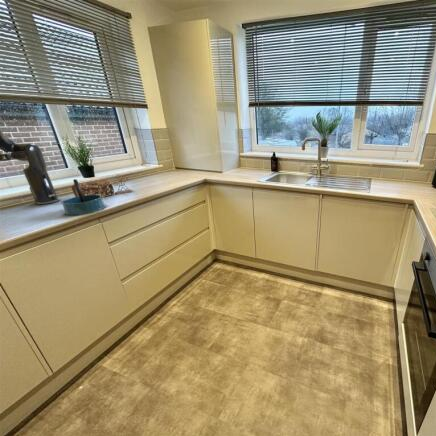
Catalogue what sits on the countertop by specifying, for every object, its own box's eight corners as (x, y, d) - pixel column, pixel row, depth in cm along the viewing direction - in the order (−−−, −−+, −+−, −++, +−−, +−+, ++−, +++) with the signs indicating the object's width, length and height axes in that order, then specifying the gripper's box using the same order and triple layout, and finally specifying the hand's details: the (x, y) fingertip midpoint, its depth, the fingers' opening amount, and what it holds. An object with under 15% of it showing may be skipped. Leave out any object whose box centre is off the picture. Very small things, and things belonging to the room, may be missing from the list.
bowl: (57, 214, 121) (52, 203, 118) (86, 204, 136) (83, 194, 133) (85, 215, 119) (81, 204, 116) (112, 205, 134) (108, 195, 131)
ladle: (75, 210, 124) (63, 180, 118) (85, 206, 130) (75, 177, 124) (85, 211, 124) (74, 180, 118) (95, 207, 129) (85, 178, 123)
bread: (78, 202, 140) (72, 185, 136) (75, 199, 146) (69, 183, 142) (116, 195, 153) (111, 179, 149) (111, 192, 159) (106, 177, 155)
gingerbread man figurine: (116, 194, 154) (111, 176, 150) (115, 193, 157) (110, 175, 152) (132, 191, 160) (127, 173, 155) (131, 190, 162) (126, 173, 158)
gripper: (-41, 150, 91) (20, 146, 101) (-35, 148, 100) (21, 145, 111) (-31, 170, 93) (28, 164, 104) (-26, 166, 103) (28, 161, 113)
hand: (24, 154), depth 107 cm, fingers open, 8 cm apart
